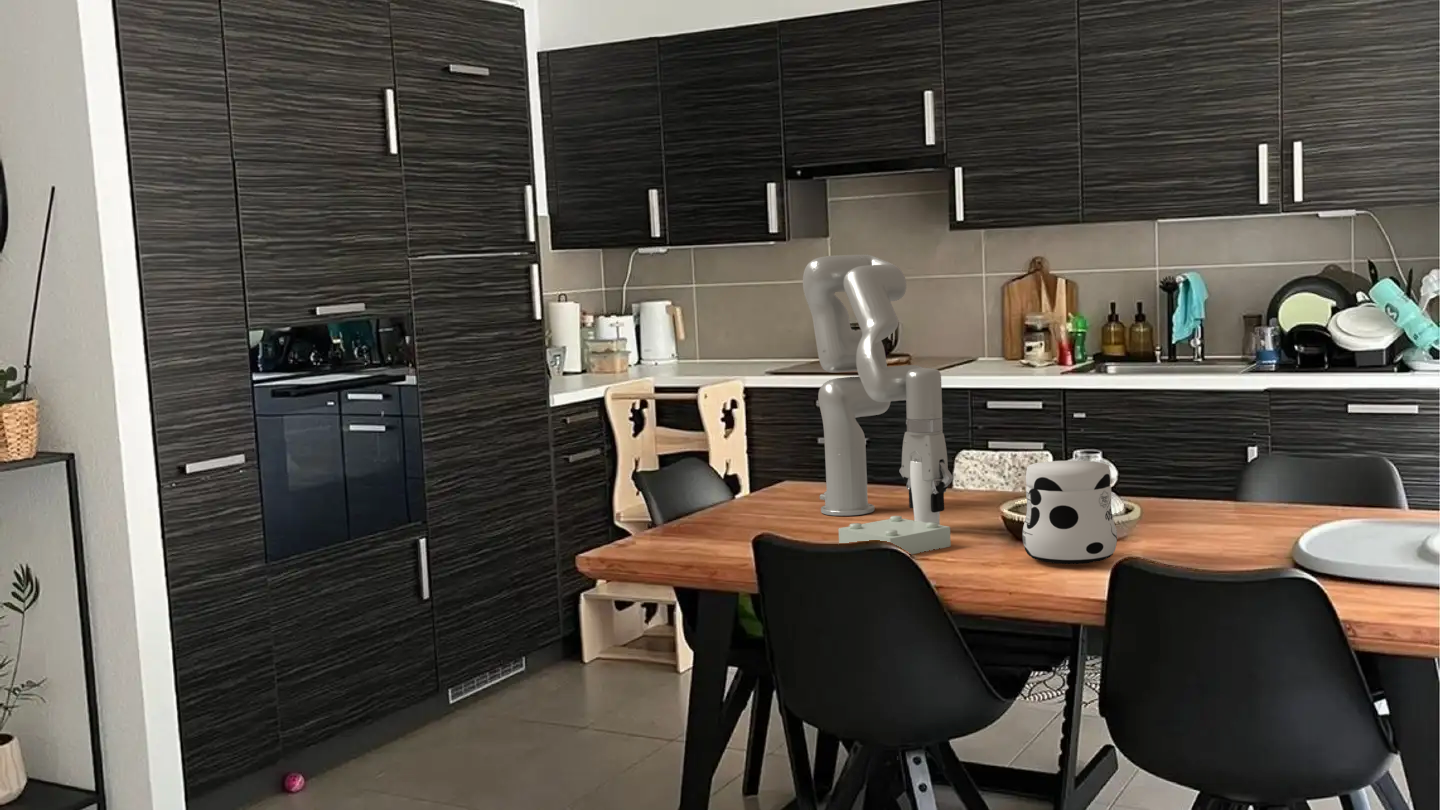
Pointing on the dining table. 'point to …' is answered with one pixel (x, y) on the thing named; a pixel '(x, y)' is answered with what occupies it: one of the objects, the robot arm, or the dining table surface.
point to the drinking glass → (922, 495)
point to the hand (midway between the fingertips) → (926, 508)
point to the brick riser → (899, 534)
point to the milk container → (1069, 512)
